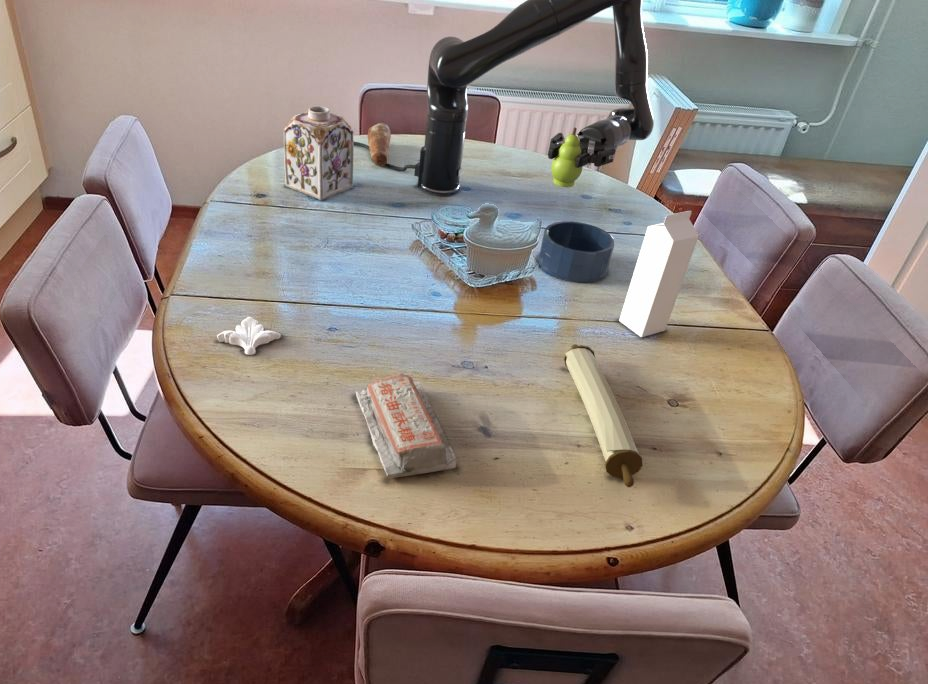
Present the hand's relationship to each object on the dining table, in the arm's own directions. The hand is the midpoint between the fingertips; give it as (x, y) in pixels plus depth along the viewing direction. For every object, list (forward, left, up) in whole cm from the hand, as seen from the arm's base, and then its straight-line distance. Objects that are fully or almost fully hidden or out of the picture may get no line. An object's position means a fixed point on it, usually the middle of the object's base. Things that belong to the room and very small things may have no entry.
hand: (563, 158), depth 142 cm
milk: (+27, -24, -18) cm, 40 cm away
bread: (-53, +20, -18) cm, 60 cm away
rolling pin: (+27, -55, -18) cm, 64 cm away
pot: (+9, -9, -18) cm, 22 cm away
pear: (0, +2, -6) cm, 6 cm away
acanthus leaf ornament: (-28, -67, -18) cm, 75 cm away
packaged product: (+4, -73, -18) cm, 75 cm away
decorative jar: (-54, -8, -18) cm, 58 cm away
